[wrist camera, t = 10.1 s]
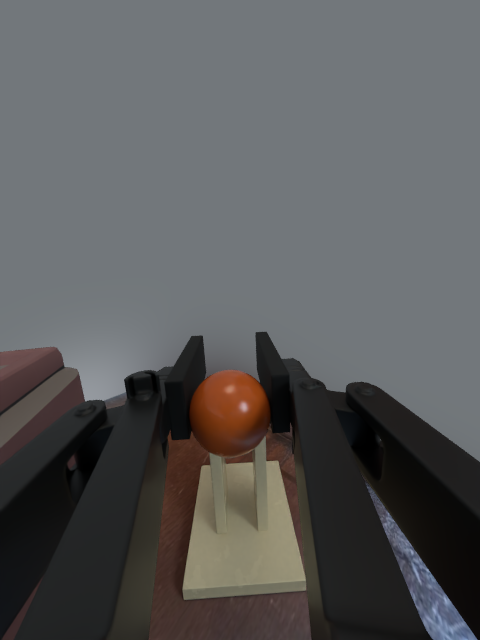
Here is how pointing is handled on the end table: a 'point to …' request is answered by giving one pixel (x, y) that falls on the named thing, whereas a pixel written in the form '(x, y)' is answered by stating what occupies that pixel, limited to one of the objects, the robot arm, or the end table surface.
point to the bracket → (242, 532)
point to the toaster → (33, 409)
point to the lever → (229, 413)
